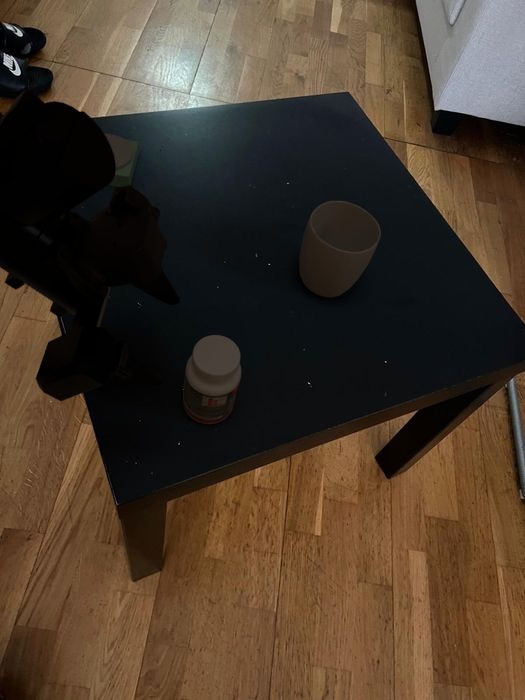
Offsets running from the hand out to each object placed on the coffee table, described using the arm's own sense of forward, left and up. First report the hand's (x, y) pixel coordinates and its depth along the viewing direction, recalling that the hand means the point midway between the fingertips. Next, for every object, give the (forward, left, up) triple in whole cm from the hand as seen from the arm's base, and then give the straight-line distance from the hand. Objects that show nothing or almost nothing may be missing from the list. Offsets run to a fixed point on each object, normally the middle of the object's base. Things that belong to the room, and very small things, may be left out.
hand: (168, 340), depth 51 cm
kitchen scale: (-14, +37, -11) cm, 41 cm away
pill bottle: (+5, 0, -11) cm, 12 cm away
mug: (+19, +23, -11) cm, 32 cm away
